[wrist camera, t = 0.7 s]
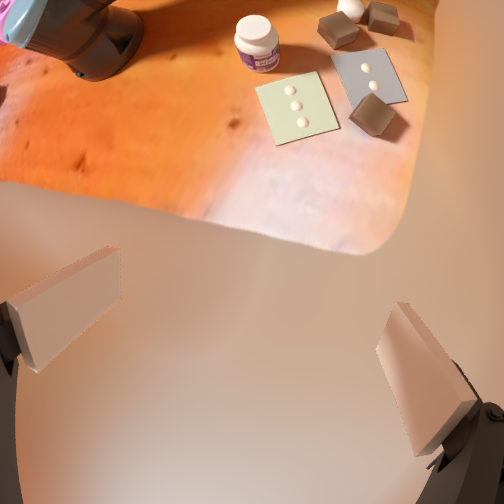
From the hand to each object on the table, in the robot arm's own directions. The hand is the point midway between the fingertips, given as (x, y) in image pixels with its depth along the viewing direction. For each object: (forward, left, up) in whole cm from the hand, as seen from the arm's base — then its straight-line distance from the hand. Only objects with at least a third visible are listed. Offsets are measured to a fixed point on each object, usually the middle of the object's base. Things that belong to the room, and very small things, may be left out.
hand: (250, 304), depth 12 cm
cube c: (-10, +17, -27) cm, 33 cm away
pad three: (-14, +8, -27) cm, 31 cm away
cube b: (-23, +25, -25) cm, 43 cm away
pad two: (-16, +20, -27) cm, 37 cm away
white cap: (-28, +22, -27) cm, 44 cm away
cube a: (-24, +18, -27) cm, 40 cm away
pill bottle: (-23, +6, -27) cm, 36 cm away
